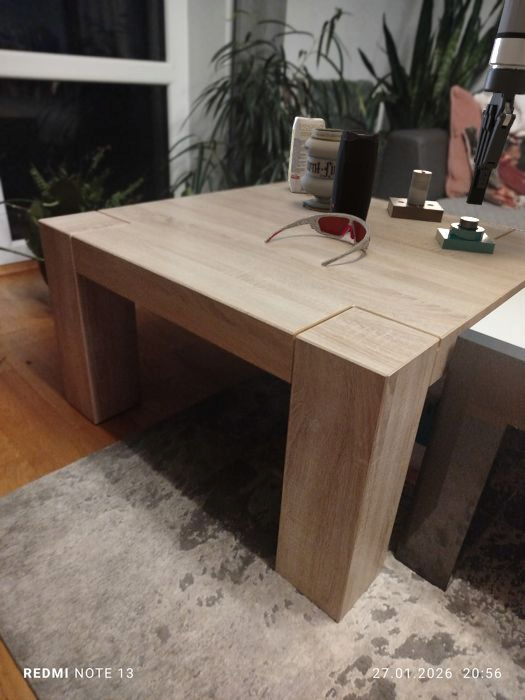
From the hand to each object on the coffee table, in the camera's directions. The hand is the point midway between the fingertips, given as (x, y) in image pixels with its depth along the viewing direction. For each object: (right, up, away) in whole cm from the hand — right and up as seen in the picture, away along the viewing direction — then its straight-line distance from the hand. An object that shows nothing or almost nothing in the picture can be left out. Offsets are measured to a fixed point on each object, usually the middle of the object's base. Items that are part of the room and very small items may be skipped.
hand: (473, 203), depth 100 cm
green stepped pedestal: (-1, -8, +4) cm, 9 cm away
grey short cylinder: (0, -4, +2) cm, 5 cm away
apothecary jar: (-27, +7, +27) cm, 39 cm away
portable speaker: (-24, -2, +11) cm, 26 cm away
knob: (-4, +7, +24) cm, 26 cm away
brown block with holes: (-4, +4, +26) cm, 26 cm away
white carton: (-31, +16, +43) cm, 55 cm away
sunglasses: (-31, -10, -4) cm, 33 cm away
